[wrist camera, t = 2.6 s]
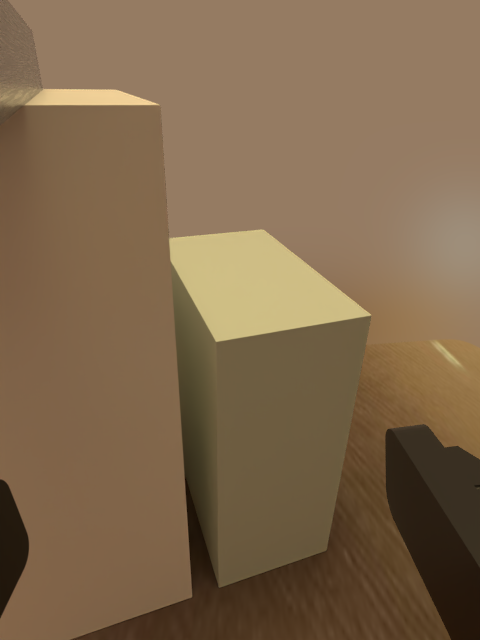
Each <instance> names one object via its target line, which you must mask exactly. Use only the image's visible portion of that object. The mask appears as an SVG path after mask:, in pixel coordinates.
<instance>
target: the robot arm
mask: <svg viewBox="0 0 480 640" xmlns="http://www.w3.org/2000/svg"><path fill="white" fill-rule="evenodd" d="M386 492H387V498H388V503H389V507H390V510H391V513H392V516H393V519H394V521H395V523H396V525H397V527H398V529H399V532H400V534H401V536H402V538H403V540H404V542H405V544H406V546H407V548H408V550H409V552H410V554H411V556H412V559H413V561H414V563H415V565H416V567H417V569H418V571H419V573H420V575H421V577H422V579H423V581H424V583H425V586H426V588H427V590H428V592H429V594H430V596H431V598H432V600H433V602H434V604H435V606H436V608H437V611H438V613H439V615H440V617H441V619H442V621H443V623H444V625H445V627H446V629H447V631H448V633H449V635H450V638H451V640H480V460H479V459H478V458H476V457H475V456H473V455H471V454H470V453H468V452H466V451H465V450H463V449H462V448H460V447H458V446H454V447H446V448H444V446H443V445H442V444H441V442H440V441H439V440H438V439H437V437H436V436H435V435H434V433H433V432H432V431H431V430H430V428H429V427H428V426H426V425H424V424H422V425H415V426H407V427H399V428H392V429H388V430H387V431H386ZM28 554H29V538H28V534H27V531H26V528H25V526H24V523H23V521H22V518H21V516H20V513H19V510H18V508H17V505H16V503H15V500H14V498H13V495H12V493H11V490H10V488H9V486H8V484H7V483H6V482H5V481H4V480H1V479H0V618H1V616H2V614H3V612H4V610H5V608H6V605H7V603H8V601H9V599H10V597H11V595H12V593H13V591H14V589H15V587H16V585H17V583H18V581H19V579H20V577H21V574H22V572H23V570H24V568H25V566H26V563H27V559H28Z"/></svg>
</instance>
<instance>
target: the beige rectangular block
mask: <svg viewBox="0 0 480 640" xmlns="http://www.w3.org/2000/svg"><path fill="white" fill-rule="evenodd" d="M169 245H170V260H171V276H172V291H173V306H174V322H175V337H176V352H177V368H178V383H179V399H180V414H181V429H182V445H183V460H184V473H185V477H186V480H187V483H188V487H189V490H190V493H191V497H192V500H193V503H194V507H195V510H196V513H197V517H198V520H199V523H200V527H201V530H202V533H203V537H204V540H205V543H206V547H207V550H208V553H209V557H210V560H211V563H212V567H213V570H214V573H215V577H216V580H217V584H218V587H219V588H220V587H223V586H226V585H229V584H232V583H235V582H238V581H240V580H243V579H246V578H249V577H252V576H255V575H258V574H261V573H263V572H266V571H269V570H272V569H275V568H278V567H281V566H284V565H287V564H289V563H292V562H295V561H298V560H301V559H304V558H307V557H310V556H312V555H315V554H318V553H321V552H324V551H327V546H328V540H329V535H330V530H331V525H332V519H333V514H334V509H335V504H336V498H337V493H338V488H339V483H340V478H341V472H342V467H343V462H344V457H345V451H346V446H347V441H348V436H349V430H350V425H351V420H352V415H353V410H354V404H355V399H356V394H357V389H358V383H359V378H360V373H361V368H362V362H363V357H364V352H365V347H366V341H367V336H368V331H369V326H370V321H371V315H370V314H369V313H368V312H367V311H365V310H364V309H363V308H361V307H360V306H359V305H358V304H357V303H355V302H354V301H353V300H351V299H350V298H349V297H348V296H346V295H345V294H344V293H343V292H341V291H340V290H339V289H338V288H336V287H335V286H334V285H333V284H331V283H330V282H329V281H328V280H326V279H325V278H324V277H322V276H321V275H320V274H319V273H317V272H316V271H315V270H314V269H312V268H311V267H310V266H308V265H307V264H306V263H305V262H304V261H302V260H301V259H300V258H299V257H297V256H296V255H295V254H293V253H292V252H291V251H290V250H288V249H287V248H286V247H285V246H283V245H282V244H281V243H280V242H278V241H277V240H276V239H274V238H273V237H272V236H271V235H270V234H268V233H267V232H265V230H253V231H243V232H231V233H221V234H211V235H199V236H189V237H178V238H169Z"/></svg>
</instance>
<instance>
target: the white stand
mask: <svg viewBox="0 0 480 640" xmlns="http://www.w3.org/2000/svg"><path fill="white" fill-rule="evenodd" d="M0 479H1V480H4V481H5V482H6V483H7V484H8V486H9V488H10V490H11V493H12V495H13V498H14V500H15V503H16V505H17V508H18V510H19V513H20V516H21V518H22V521H23V523H24V526H25V528H26V531H27V534H28V538H29V554H28V559H27V563H26V566H25V568H24V570H23V572H22V574H21V577H20V579H19V581H18V583H17V585H16V587H15V589H14V591H13V593H12V595H11V597H10V599H9V601H8V603H7V605H6V608H5V610H4V612H3V614H2V616H1V618H0V640H71V639H74V638H77V637H79V636H82V635H85V634H88V633H91V632H94V631H97V630H100V629H102V628H105V627H108V626H111V625H114V624H117V623H120V622H123V621H125V620H128V619H131V618H134V617H137V616H140V615H143V614H146V613H148V612H151V611H154V610H157V609H160V608H163V607H166V606H169V605H171V604H174V603H177V602H180V601H183V600H186V599H189V598H192V583H191V568H190V552H189V537H188V521H187V506H186V491H185V475H184V460H183V445H182V429H181V414H180V399H179V383H178V368H177V352H176V337H175V322H174V306H173V291H172V276H171V260H170V245H169V229H168V214H167V199H166V183H165V168H164V153H163V137H162V123H161V107H160V105H159V104H155V103H153V102H150V101H147V100H144V99H142V98H138V97H136V96H133V95H130V94H127V93H124V92H121V91H118V90H78V89H76V90H75V89H43V90H42V91H41V92H39V93H38V94H37V95H36V96H35V97H34V98H32V99H31V100H30V101H29V102H28V103H26V104H25V105H24V106H23V107H22V108H20V109H19V110H18V111H17V112H16V113H15V114H13V115H12V116H11V117H10V118H9V119H7V120H6V121H5V122H4V123H3V124H2V125H0Z"/></svg>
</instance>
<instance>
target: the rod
mask: <svg viewBox="0 0 480 640" xmlns="http://www.w3.org/2000/svg"><path fill="white" fill-rule="evenodd" d="M42 90H43V88H42V83H41V77H40V72H39V66H38V60H37V55H36V50H35V44H34V39H33V33H32V30H31V29H30V28H29V27H28V26H27V24H26V23H25V21H24V20H23V19H22V18H21V16H20V15H19V14H18V13H17V11H16V10H15V9H14V8H13V6H12V5H11V4H10V3H9V1H8V0H0V125H2V124H3V123H4V122H5V121H6V120H7V119H9V118H10V117H11V116H12V115H13V114H15V113H16V112H17V111H18V110H19V109H20V108H22V107H23V106H24V105H25V104H26V103H28V102H29V101H30V100H31V99H32V98H34V97H35V96H36V95H37V94H38V93H39V92H41V91H42Z"/></svg>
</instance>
